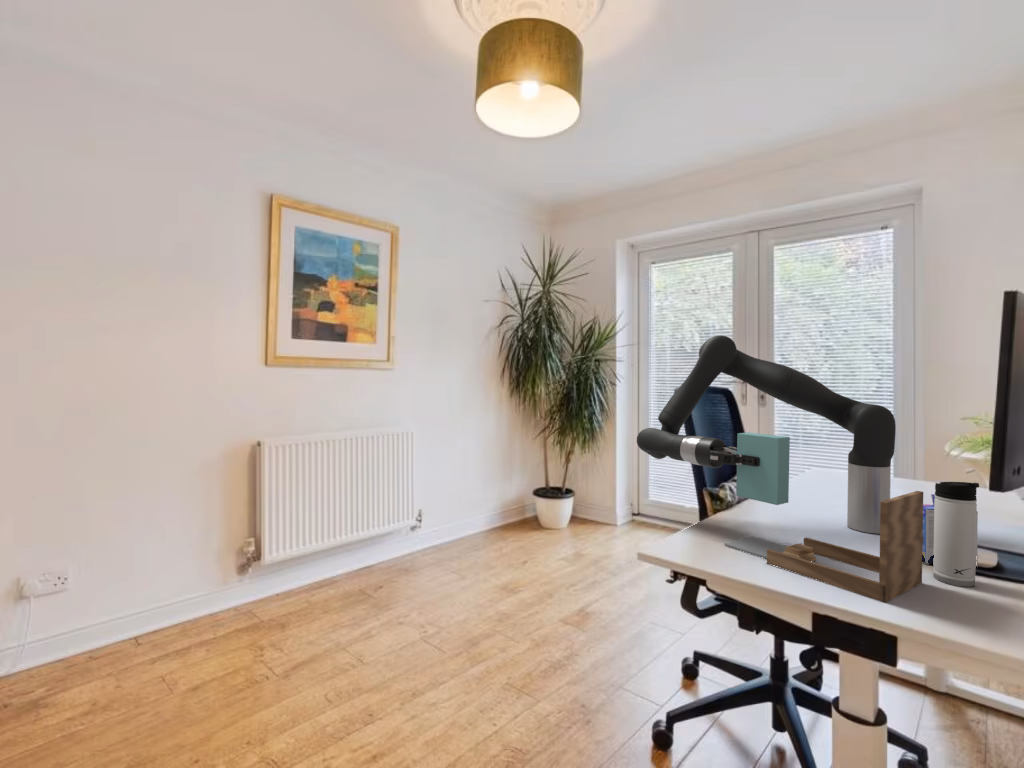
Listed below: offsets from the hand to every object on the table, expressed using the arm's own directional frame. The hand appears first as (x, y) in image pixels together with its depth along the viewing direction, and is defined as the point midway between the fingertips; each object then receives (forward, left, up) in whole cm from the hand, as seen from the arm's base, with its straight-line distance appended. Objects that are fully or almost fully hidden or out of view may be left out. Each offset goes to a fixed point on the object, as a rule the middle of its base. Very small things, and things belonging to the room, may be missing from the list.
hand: (765, 461), depth 117 cm
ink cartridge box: (-26, +25, -21) cm, 42 cm away
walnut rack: (0, +16, -21) cm, 26 cm away
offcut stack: (0, +8, -21) cm, 22 cm away
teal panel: (0, -1, -9) cm, 9 cm away
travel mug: (-15, +30, -21) cm, 40 cm away
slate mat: (0, -1, -21) cm, 21 cm away
